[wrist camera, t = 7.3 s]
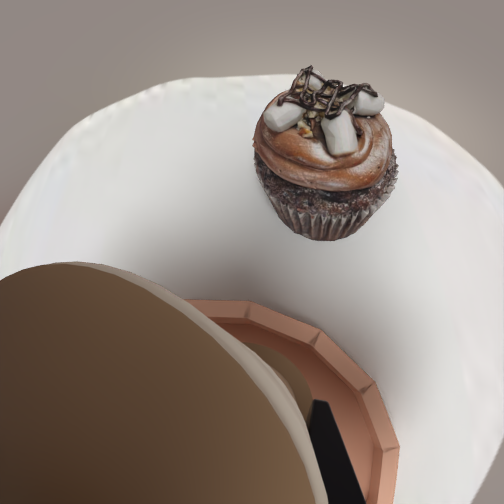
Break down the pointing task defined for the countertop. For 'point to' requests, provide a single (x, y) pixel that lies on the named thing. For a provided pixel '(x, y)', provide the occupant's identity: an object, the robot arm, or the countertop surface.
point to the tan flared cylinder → (141, 399)
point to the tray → (324, 386)
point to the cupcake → (325, 156)
